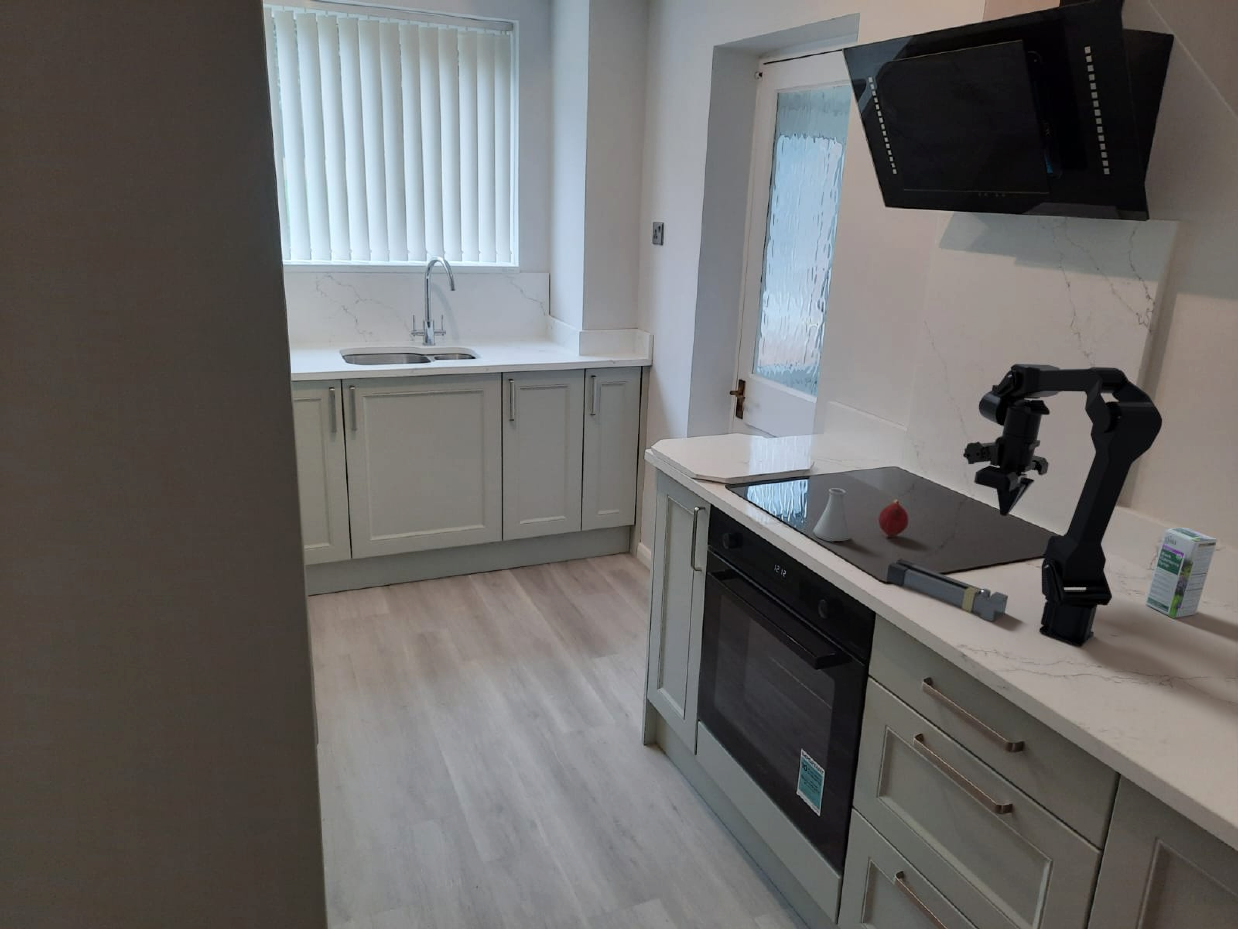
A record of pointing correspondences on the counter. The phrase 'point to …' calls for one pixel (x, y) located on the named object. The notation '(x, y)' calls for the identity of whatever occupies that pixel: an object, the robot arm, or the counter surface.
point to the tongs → (949, 592)
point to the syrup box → (1180, 572)
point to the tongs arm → (940, 577)
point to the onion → (893, 519)
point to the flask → (833, 519)
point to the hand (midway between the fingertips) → (1003, 515)
